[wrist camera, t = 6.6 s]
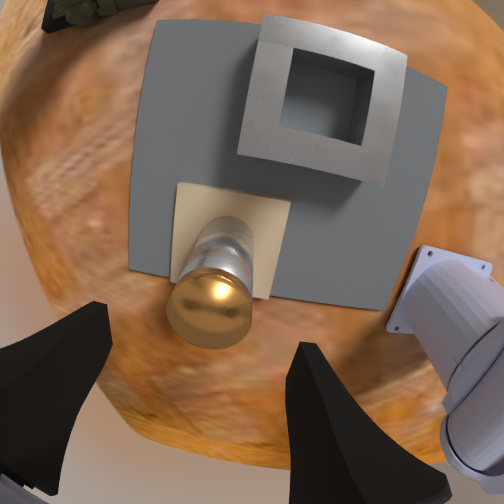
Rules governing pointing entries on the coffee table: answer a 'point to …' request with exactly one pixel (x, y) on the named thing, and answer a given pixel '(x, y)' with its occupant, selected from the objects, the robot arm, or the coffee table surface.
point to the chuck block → (335, 60)
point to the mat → (277, 163)
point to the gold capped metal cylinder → (215, 287)
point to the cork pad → (236, 205)
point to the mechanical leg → (82, 12)
